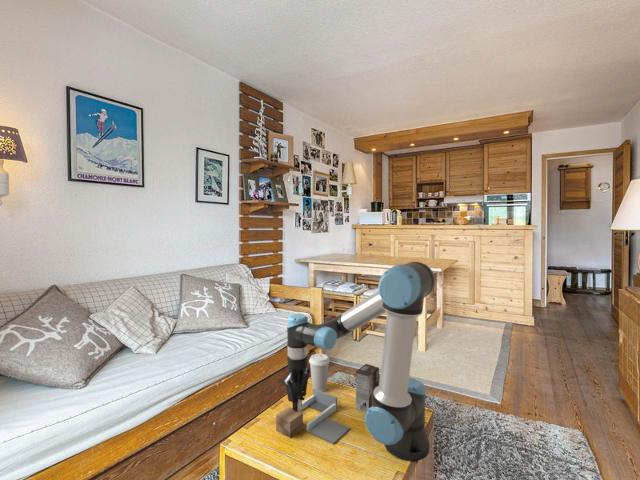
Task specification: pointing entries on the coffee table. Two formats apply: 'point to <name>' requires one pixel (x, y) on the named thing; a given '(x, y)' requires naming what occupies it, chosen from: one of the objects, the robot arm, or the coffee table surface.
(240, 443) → the coffee table surface
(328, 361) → the coffee cup
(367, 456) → the coffee table surface
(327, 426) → the slate coaster
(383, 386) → the robot arm
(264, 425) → the coffee table surface
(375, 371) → the coffee box
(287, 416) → the walnut block
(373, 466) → the coffee table surface
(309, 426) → the channel
